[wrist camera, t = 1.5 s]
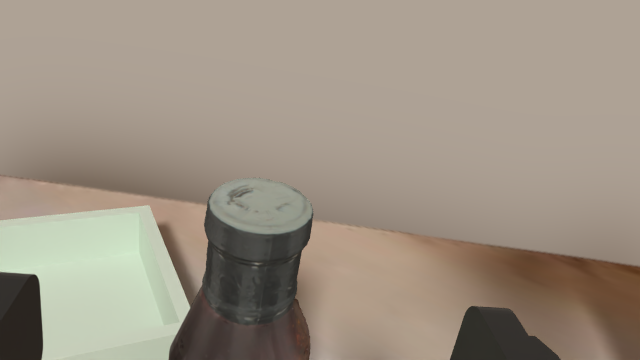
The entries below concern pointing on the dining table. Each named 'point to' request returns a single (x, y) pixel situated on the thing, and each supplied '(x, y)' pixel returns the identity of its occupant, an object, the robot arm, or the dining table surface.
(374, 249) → the dining table surface
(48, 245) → the sage bin
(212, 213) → the sauce bottle
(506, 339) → the robot arm
